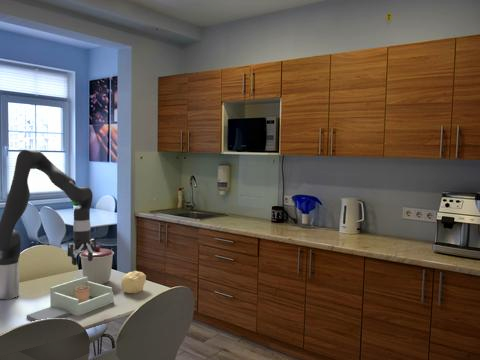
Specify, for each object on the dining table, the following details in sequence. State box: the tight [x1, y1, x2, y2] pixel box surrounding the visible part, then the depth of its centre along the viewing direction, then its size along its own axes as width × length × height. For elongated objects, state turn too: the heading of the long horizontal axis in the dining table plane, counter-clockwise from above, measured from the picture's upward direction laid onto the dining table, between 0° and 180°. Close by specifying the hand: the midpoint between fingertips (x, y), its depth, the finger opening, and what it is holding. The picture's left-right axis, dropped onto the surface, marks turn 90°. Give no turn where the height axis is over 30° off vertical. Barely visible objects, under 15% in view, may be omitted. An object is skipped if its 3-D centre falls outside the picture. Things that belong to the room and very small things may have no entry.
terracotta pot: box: [75, 286, 90, 303], centre depth 192 cm, size 6×6×8 cm
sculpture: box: [121, 270, 147, 294], centre depth 210 cm, size 12×12×11 cm
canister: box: [79, 244, 115, 285], centre depth 223 cm, size 18×18×21 cm
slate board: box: [26, 306, 69, 322], centre depth 177 cm, size 12×12×2 cm
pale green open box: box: [49, 277, 114, 317], centre depth 192 cm, size 20×20×9 cm
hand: (82, 262), depth 191 cm, fingers open, 8 cm apart
